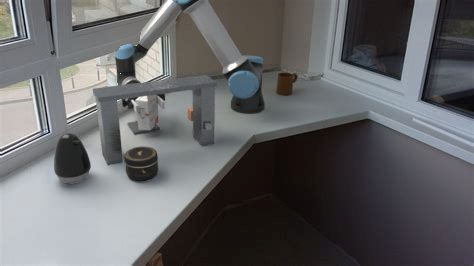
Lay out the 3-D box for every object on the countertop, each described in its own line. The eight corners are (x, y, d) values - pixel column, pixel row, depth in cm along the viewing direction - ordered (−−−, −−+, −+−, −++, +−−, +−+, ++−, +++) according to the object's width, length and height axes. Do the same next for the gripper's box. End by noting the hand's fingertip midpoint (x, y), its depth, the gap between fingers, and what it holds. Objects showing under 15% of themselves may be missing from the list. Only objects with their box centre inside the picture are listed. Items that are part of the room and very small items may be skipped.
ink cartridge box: (146, 120, 159) (143, 84, 153) (159, 122, 158) (156, 85, 152) (137, 129, 151) (134, 91, 145) (150, 131, 150) (147, 92, 144)
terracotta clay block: (187, 117, 156) (187, 107, 154) (197, 116, 157) (197, 106, 156) (204, 133, 143) (204, 123, 142) (214, 131, 145) (214, 121, 143)
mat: (127, 125, 163) (127, 122, 162) (152, 120, 167) (152, 118, 167) (134, 134, 155) (134, 132, 154) (160, 130, 159) (160, 127, 159)
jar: (129, 186, 123) (126, 163, 120) (123, 170, 131) (121, 148, 128) (162, 179, 127) (160, 157, 123) (154, 164, 135) (153, 143, 132)
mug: (290, 88, 210) (291, 70, 206) (301, 92, 205) (303, 73, 201) (273, 92, 203) (274, 74, 199) (284, 96, 198) (285, 78, 194)
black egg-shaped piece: (72, 192, 119) (64, 145, 112) (49, 181, 124) (40, 135, 117) (100, 177, 127) (94, 132, 120) (77, 167, 132) (70, 123, 125)
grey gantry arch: (100, 154, 140) (92, 88, 130) (206, 134, 157) (206, 74, 147) (106, 166, 133) (98, 97, 123) (216, 144, 150) (216, 82, 140)
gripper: (159, 93, 171) (179, 112, 153) (106, 101, 162) (121, 122, 144) (158, 76, 168) (178, 92, 150) (104, 83, 159) (119, 101, 141)
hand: (150, 107), depth 147 cm, fingers closed on ink cartridge box, 9 cm apart
